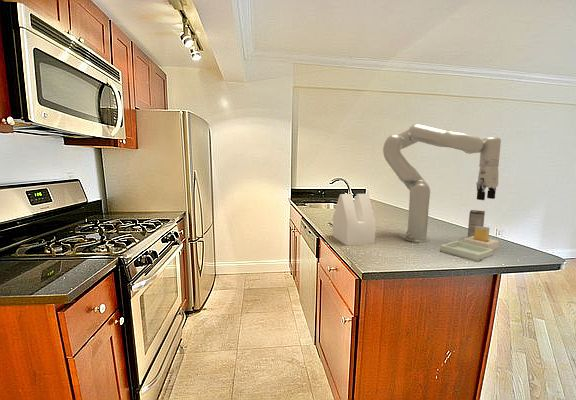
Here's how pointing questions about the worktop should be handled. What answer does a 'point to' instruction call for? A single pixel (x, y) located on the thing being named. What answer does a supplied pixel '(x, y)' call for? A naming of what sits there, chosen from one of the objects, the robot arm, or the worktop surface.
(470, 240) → the beige square stand
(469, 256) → the parts tray
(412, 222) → the robot arm
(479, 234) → the fuse
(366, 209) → the white notched block
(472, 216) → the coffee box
